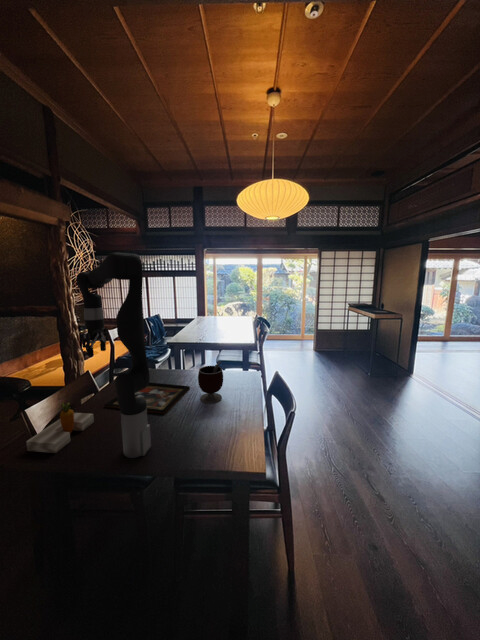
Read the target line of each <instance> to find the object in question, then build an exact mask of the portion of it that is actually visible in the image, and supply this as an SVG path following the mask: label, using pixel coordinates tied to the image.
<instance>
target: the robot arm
mask: <svg viewBox="0 0 480 640" xmlns="http://www.w3.org/2000/svg"><path fill="white" fill-rule="evenodd" d="M143 269H144V268H143V262H142V259H141V257H140V255H138V254H137V253H130V252H129V253H128V252H111V253H109V254H108V255H107V256H106V257H105V258H104V259H103V261H102V262H100V264H99V266H97V267H94V268H93V269H91V270H90V271H89V272H88V271H81V272H79V273H78V274H76V279H75V280H76V283H77V286H78V288H79V291H80V294H81V296H82V301H83V317H84V318H83V320H84V327H85V330H87V333H82V334H81V338H82V339H81V341H82V342H81V343H82V349H83V348H85V349H86V351H87V356H88V357H94V356H95V355H94V345H95V344H96V342H97V341H99V343H100V344H99V347H100V351H101V352H105V351H106V350H107V346H106V343H107V341H109V331H108V328H107V327H106V328H105V315H104V308H103V300H102V298H103V297H102V296H101V294H99V293H98V294H97V293H92V292H91V291H90V290H91V289H92V290H93V289H102V288H104V287H105V285H106V284H109V283H111V282H112V281H113V280H118V281H119V280H120V281H121V280H122V281H123V280H126V281H127V280H128V291H127V295H126V296H125V299H124V301H123V302H122V304H121V306H120V308H119V310H118V311H117V315H116V318H115V321H116V322H115V323H116V331H117V333H116V334H117V337H118V338H119V340H120V342H121V343H122V344H123V346H124V347H125V348H126V350H127V351H128V352H129V355H130V357H131V368H128V369H126V370H122V371H120V372H119V373H117V375H116V376H115V389H116V390H115V391H116V397H117V399H118V404H119V407H120V409H119V410H120V421H121V423H120V424H121V437H122V450H123V455H124V457H126V458H129V459H130V458H131V459H135V458H139V457H144V456H145V455H146V454H147V453H148V451H149V450H150V449H151V447H152V441H151V438H152V437H151V425H150V423H149V424H148V412H147V405H146V400H145V399H143V398H139V397H135V393H136V392H138V391H140V390H142V389H144V388H146V387H147V386H148V384H149V382H150V379H151V377H150V376H151V375H150V370H149V364H148V358H147V349H146V339H145V320H144V307H143V283H144V282H143V278H144V277H143V276H144V275H143V271H144V270H143Z"/></svg>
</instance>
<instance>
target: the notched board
mask: <svg viewBox="0 0 480 640" xmlns="http://www.w3.org/2000/svg"><path fill="white" fill-rule="evenodd" d="M94 422H95V418H94V413H84V412H74V426H73V430H72V431H77V432H84V431H85V430H86V429H88V428H89V426H91V425H92V424H93V423H94ZM70 442H72V441H71V434H70V432H65V431H64V430H63V428H62V425H61V421H60V418H58V419H57V420H56V421H55V422H53V423H52V424H50V425H48V426H47V427H45V428H44V429H43V430H41V431H39V432H38V433H37V434H35V435H34V436H32V437H31V438H29V439H28V440H26V449H27V451H28V452H36V453H37V452H39V453H50V454H51V453H52V454H57V453H58V452H60V450H61V449H63V448H64V447H66V445H68V444H69V443H70Z"/></svg>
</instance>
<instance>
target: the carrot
mask: <svg viewBox="0 0 480 640" xmlns="http://www.w3.org/2000/svg"><path fill="white" fill-rule="evenodd" d="M70 404H71V402H67V403H66V405H65V404H64V402H62V403H61V407H62V409H63V410H62V411H61V412H60V414H59V419H60V421H61V425H62V428H63V430H64V431H65V432H70V435H72V433H73V431H74V430H73V426H74V413H75V412H74V410H73V409H71V407H69V406H70Z"/></svg>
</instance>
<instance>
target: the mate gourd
mask: <svg viewBox="0 0 480 640" xmlns="http://www.w3.org/2000/svg"><path fill="white" fill-rule="evenodd" d="M221 363H222V360H220V361H218V362H216V364H214V365H206V366H201V367H200V368H199V369H198V375H197V382H198V387H199V389H200V390H201V391H202V392H203V394H202V395H201V396H199V400H200V402H201V403H203V404H206V405H207V404H208V405H209V404H210V405H213V404H217V403H219V402H221V401H222V399H223V396H222V395H221V394H220V393H218V392H219V391H221V389H222V387H223V384H224V372H223V368H222V367H220V364H221Z"/></svg>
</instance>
